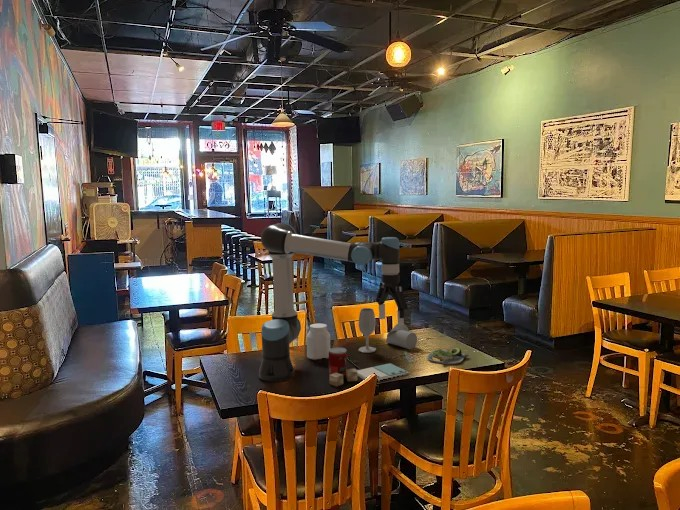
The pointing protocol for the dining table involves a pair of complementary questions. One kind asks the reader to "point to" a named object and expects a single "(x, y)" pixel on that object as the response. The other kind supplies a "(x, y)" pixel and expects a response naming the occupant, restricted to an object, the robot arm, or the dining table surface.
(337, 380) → the maple block
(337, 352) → the canned food
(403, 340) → the bent grey cylinder
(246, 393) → the dining table surface
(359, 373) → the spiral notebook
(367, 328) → the wineglass
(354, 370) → the maple block
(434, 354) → the salad plate
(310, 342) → the jar
